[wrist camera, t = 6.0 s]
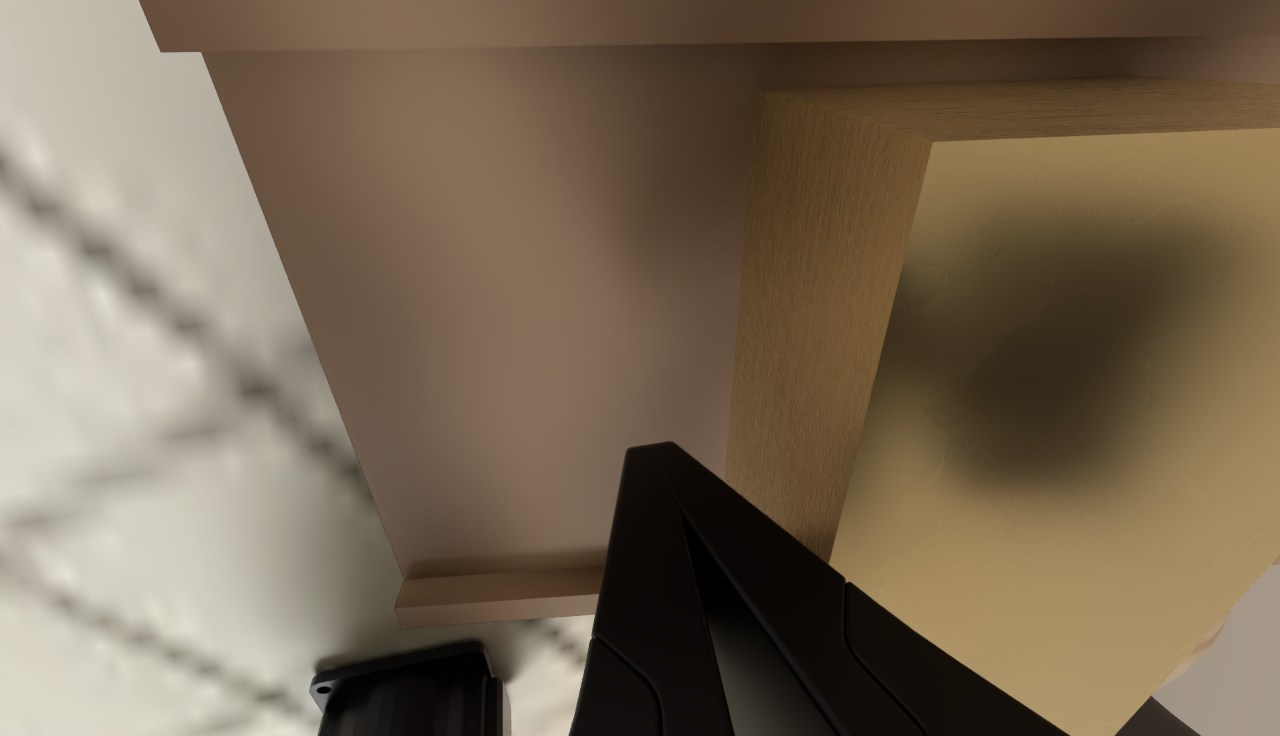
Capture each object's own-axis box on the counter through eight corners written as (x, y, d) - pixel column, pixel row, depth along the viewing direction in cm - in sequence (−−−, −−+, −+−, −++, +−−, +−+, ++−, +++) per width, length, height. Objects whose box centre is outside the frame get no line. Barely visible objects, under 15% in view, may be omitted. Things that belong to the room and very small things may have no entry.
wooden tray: (438, 553, 16) (395, 696, 12) (239, -71, 8) (-18, -150, 5) (1249, 500, 17) (1413, 615, 14) (1723, -78, 10) (2355, -143, 6)
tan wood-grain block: (720, 536, 13) (778, 769, 9) (755, 88, 8) (933, 142, 4) (952, 519, 14) (1113, 736, 9) (1132, 75, 8) (1682, 111, 4)
